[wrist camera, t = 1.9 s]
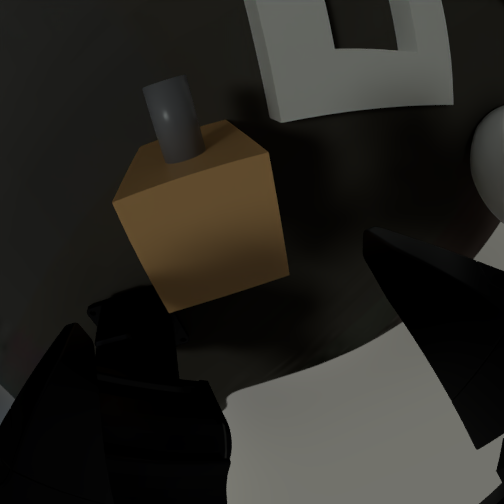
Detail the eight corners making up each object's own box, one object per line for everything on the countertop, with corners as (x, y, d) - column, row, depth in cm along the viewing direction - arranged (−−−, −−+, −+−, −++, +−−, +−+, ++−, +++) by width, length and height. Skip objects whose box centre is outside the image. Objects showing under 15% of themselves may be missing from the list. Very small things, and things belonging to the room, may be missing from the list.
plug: (244, 196, 18) (289, 275, 11) (167, 220, 17) (169, 313, 11) (213, 70, 13) (249, 57, 7) (124, 98, 13) (77, 113, 6)
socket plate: (435, 99, 16) (459, 106, 14) (269, 117, 15) (285, 124, 13) (406, -53, 8) (428, -59, 6) (221, -78, 7) (230, -97, 5)
